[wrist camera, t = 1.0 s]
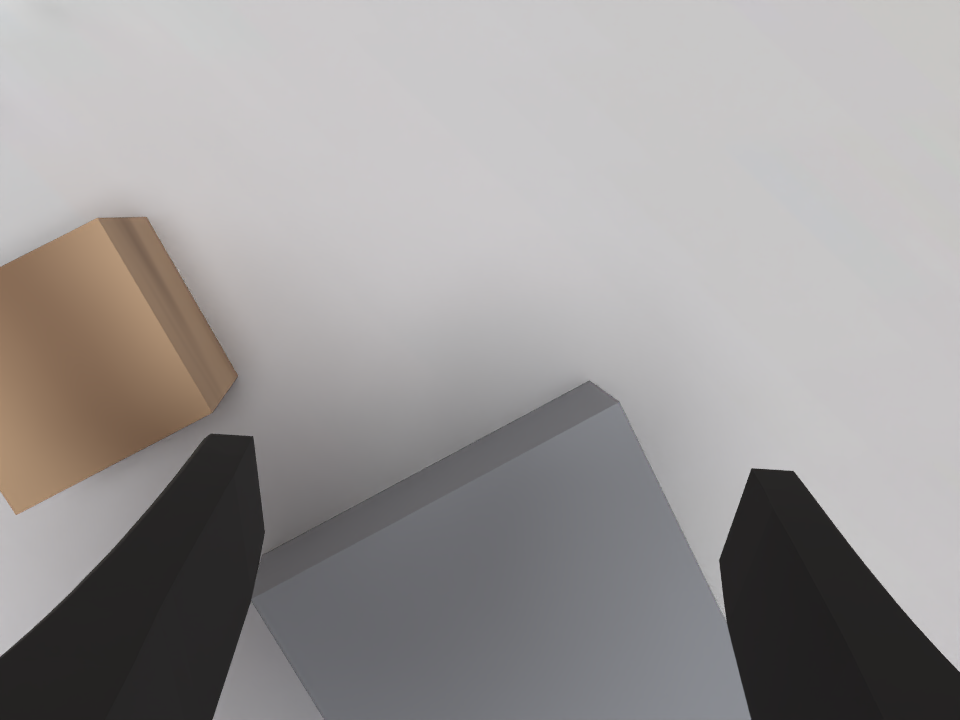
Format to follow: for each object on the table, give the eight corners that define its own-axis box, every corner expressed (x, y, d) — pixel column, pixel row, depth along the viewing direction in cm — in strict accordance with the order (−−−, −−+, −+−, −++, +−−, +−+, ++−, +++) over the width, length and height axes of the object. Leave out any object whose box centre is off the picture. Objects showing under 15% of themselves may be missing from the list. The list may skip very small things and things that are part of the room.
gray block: (432, 831, 30) (443, 913, 26) (263, 550, 27) (250, 599, 24) (728, 667, 30) (776, 726, 27) (586, 378, 28) (619, 401, 24)
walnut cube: (79, 458, 26) (15, 515, 21) (-19, 301, 25) (-111, 323, 20) (238, 375, 26) (212, 412, 21) (147, 217, 25) (97, 218, 20)
